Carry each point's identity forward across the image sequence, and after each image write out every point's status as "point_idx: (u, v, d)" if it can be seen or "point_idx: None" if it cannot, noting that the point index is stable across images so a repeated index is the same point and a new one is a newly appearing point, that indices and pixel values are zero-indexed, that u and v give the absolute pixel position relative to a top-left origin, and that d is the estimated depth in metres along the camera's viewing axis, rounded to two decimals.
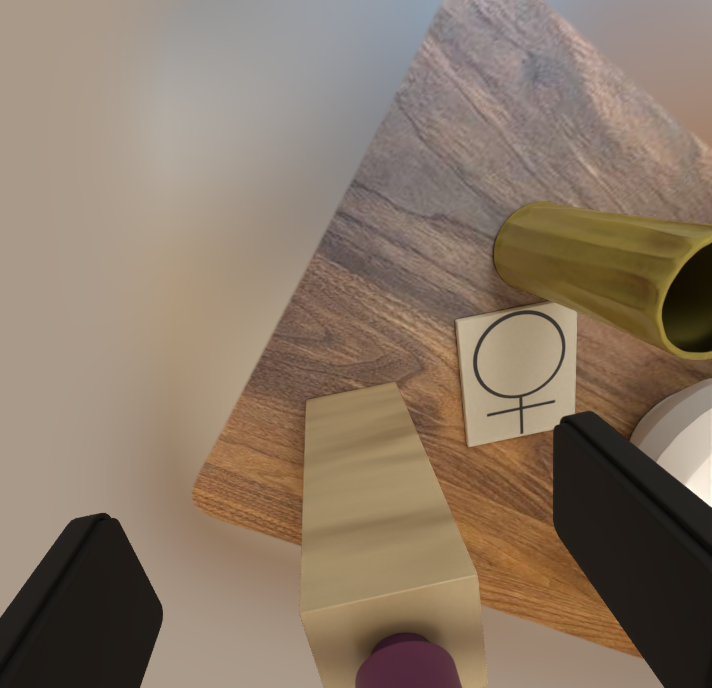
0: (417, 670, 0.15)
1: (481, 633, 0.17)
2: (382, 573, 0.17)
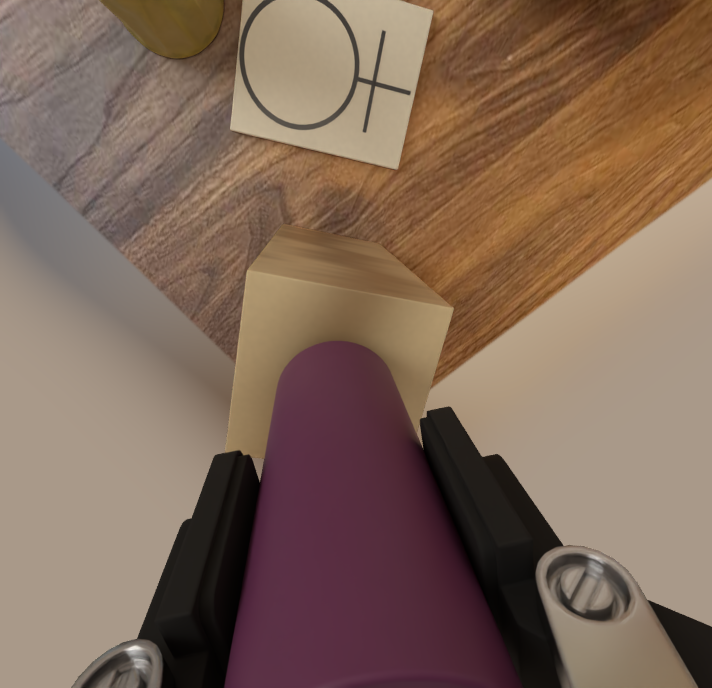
0: (278, 389, 0.13)
1: (351, 291, 0.14)
2: None
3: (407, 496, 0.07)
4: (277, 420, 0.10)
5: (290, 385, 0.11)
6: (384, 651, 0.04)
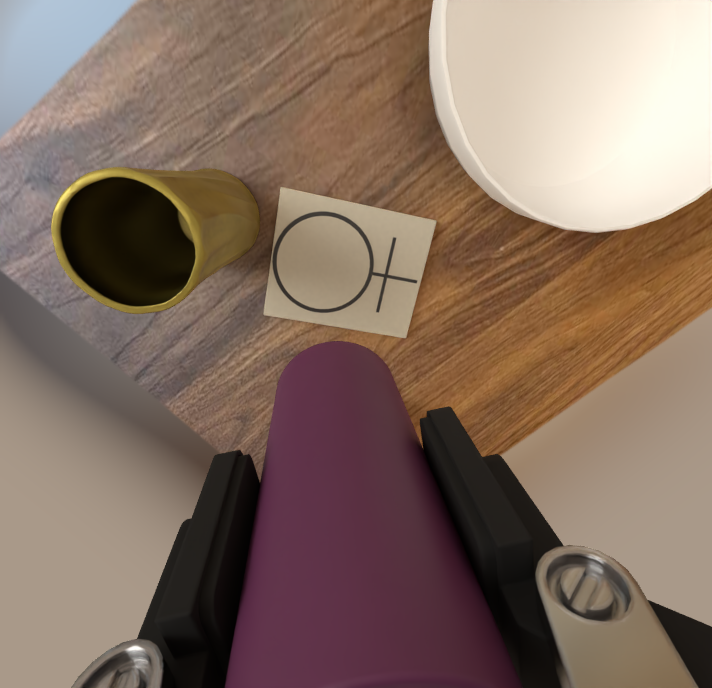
0: (278, 389, 0.13)
1: None
2: None
3: (407, 497, 0.07)
4: (277, 421, 0.10)
5: (290, 386, 0.11)
6: (384, 653, 0.04)
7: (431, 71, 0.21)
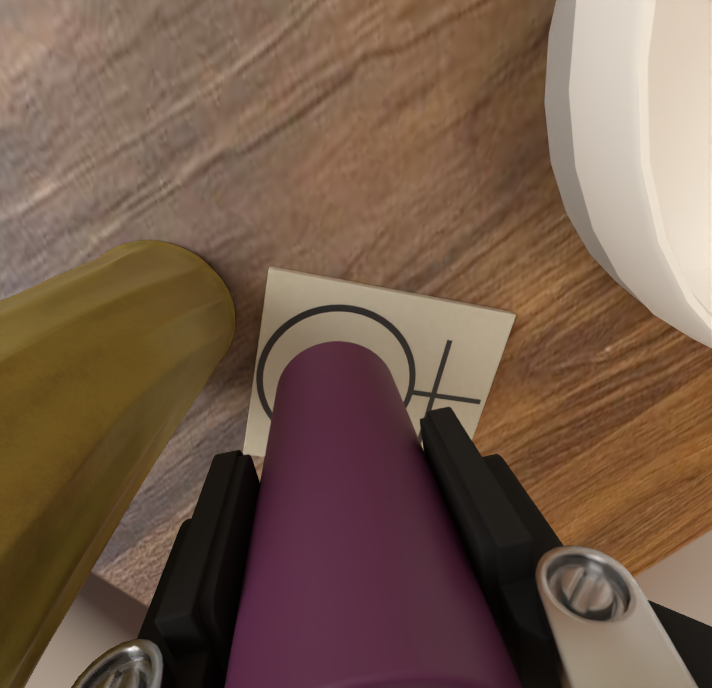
0: (278, 389, 0.13)
1: None
2: None
3: (408, 497, 0.07)
4: (277, 420, 0.10)
5: (290, 385, 0.11)
6: (384, 653, 0.04)
7: (576, 84, 0.10)
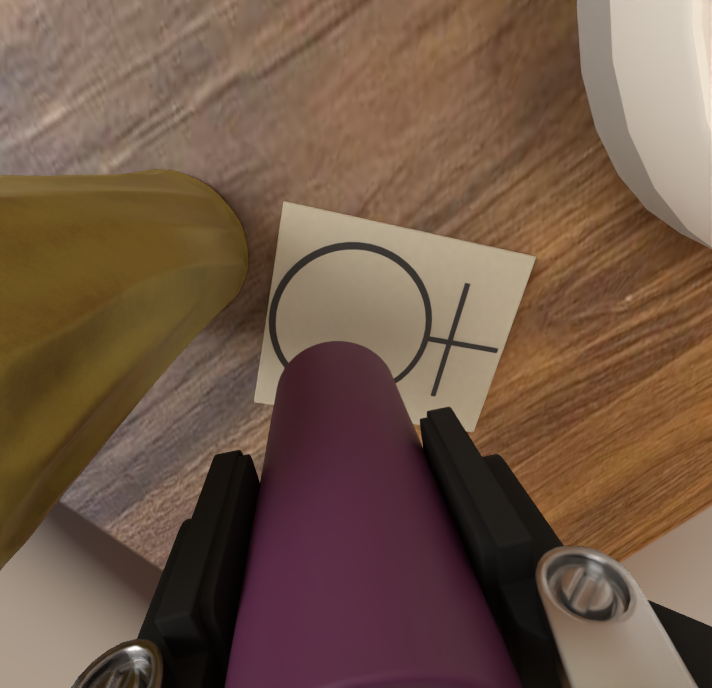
0: (278, 389, 0.13)
1: None
2: None
3: (408, 497, 0.07)
4: (277, 420, 0.10)
5: (290, 385, 0.11)
6: (384, 652, 0.04)
7: None
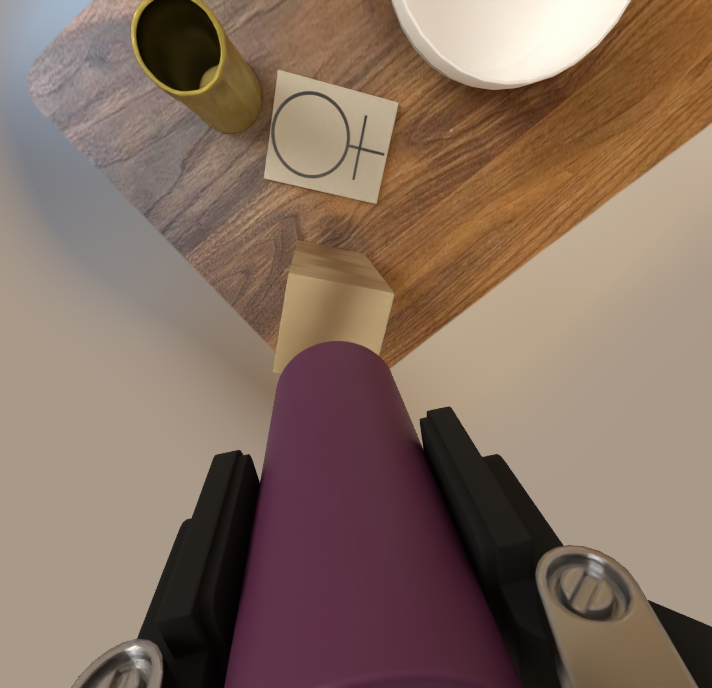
0: (278, 389, 0.13)
1: (340, 284, 0.27)
2: None
3: (407, 496, 0.07)
4: (277, 420, 0.10)
5: (290, 385, 0.11)
6: (384, 651, 0.04)
7: None
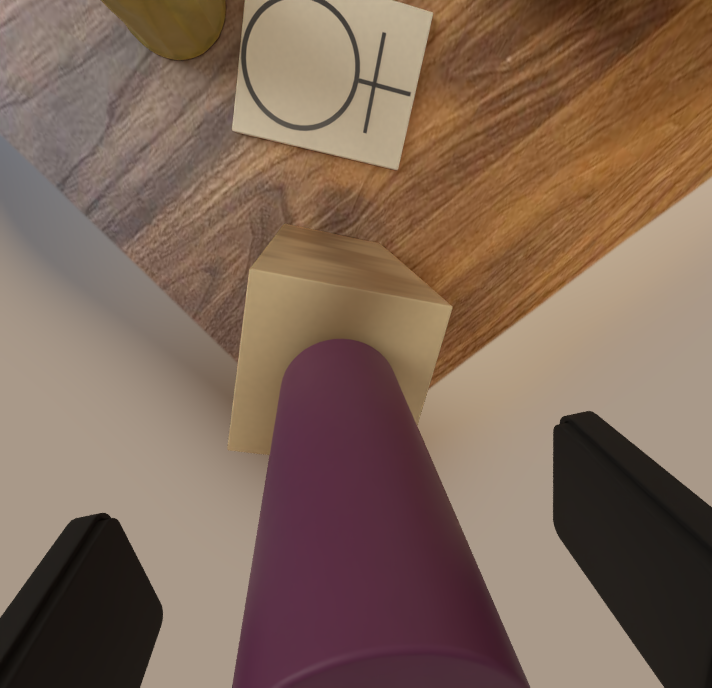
0: (283, 385, 0.13)
1: (351, 290, 0.14)
2: None
3: (410, 487, 0.07)
4: (282, 415, 0.11)
5: (295, 381, 0.12)
6: (388, 627, 0.05)
7: None
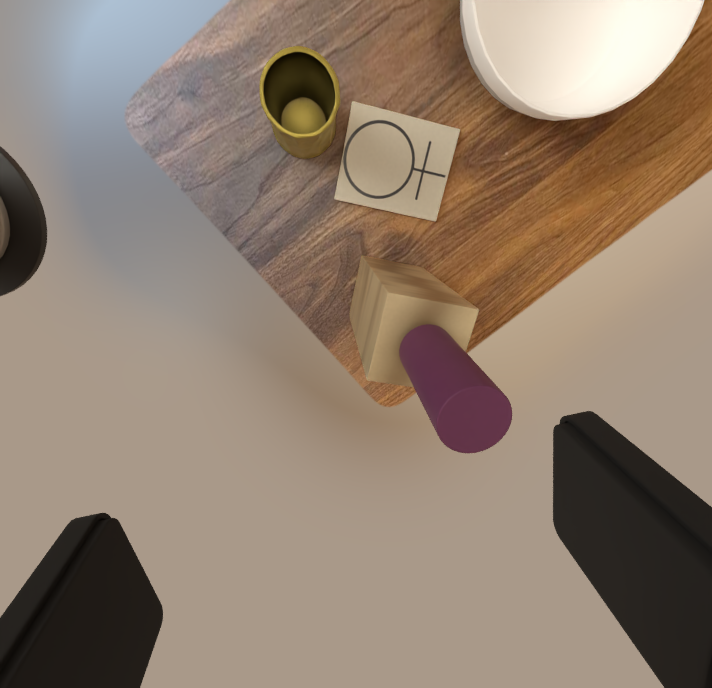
0: (405, 345, 0.29)
1: (432, 302, 0.30)
2: (374, 335, 0.31)
3: (474, 366, 0.23)
4: (415, 353, 0.27)
5: (415, 341, 0.28)
6: (477, 383, 0.21)
7: (463, 9, 0.32)
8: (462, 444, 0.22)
